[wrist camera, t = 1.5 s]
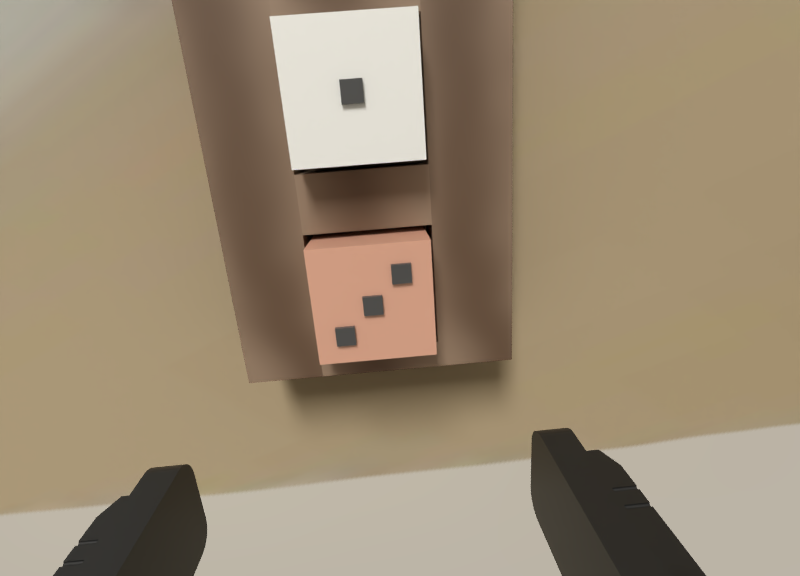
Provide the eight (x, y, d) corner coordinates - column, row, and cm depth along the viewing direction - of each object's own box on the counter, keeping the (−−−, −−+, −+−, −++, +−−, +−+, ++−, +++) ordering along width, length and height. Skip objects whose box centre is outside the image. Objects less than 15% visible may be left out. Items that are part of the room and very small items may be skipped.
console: (482, -225, 20) (514, -338, 16) (489, 323, 29) (511, 359, 24) (171, -206, 20) (107, -316, 15) (270, 342, 28) (249, 383, 24)
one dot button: (411, 28, 20) (418, 4, 17) (418, 157, 22) (426, 159, 18) (287, 37, 20) (268, 14, 16) (304, 166, 22) (290, 170, 18)
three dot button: (422, 225, 23) (431, 240, 19) (428, 326, 25) (437, 356, 21) (314, 235, 23) (302, 251, 19) (327, 335, 25) (319, 367, 21)
